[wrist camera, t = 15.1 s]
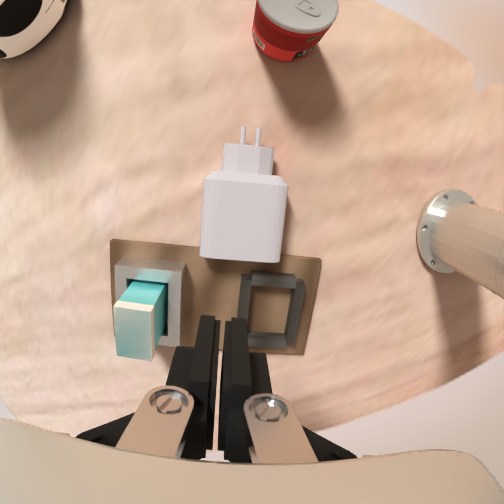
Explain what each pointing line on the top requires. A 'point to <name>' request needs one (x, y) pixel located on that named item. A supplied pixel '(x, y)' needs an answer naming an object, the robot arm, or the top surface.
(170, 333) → the frame
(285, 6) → the canned food
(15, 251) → the top surface
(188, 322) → the brown socket board
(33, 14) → the milk container
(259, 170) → the charger
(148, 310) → the plug
